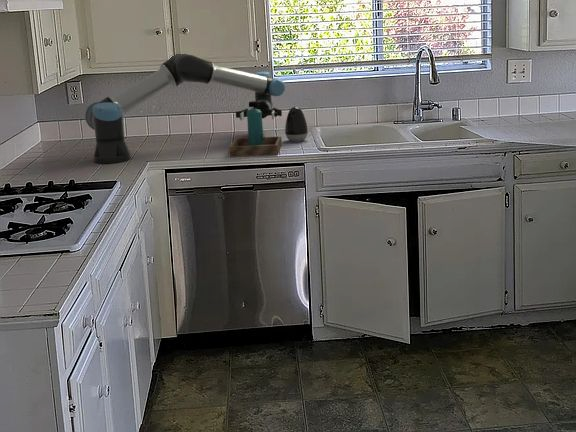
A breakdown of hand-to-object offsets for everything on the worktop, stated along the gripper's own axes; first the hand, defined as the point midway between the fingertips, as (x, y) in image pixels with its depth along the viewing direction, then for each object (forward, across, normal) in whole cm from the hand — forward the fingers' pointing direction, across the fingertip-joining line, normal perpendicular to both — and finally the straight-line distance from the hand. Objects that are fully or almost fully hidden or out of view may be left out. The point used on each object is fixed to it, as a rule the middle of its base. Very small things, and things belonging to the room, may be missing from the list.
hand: (256, 116), depth 371 cm
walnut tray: (+10, 0, -13) cm, 16 cm away
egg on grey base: (-10, -16, -13) cm, 23 cm away
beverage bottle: (+10, 0, -12) cm, 16 cm away
